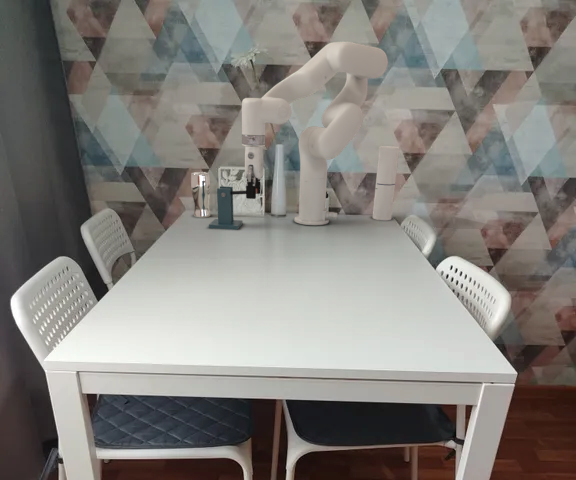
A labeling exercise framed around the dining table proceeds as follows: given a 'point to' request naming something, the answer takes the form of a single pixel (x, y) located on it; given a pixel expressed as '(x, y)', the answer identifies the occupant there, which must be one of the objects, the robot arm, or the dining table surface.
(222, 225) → the bracket
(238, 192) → the lever
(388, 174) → the cylindrical container
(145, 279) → the dining table surface
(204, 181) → the metal tumbler
